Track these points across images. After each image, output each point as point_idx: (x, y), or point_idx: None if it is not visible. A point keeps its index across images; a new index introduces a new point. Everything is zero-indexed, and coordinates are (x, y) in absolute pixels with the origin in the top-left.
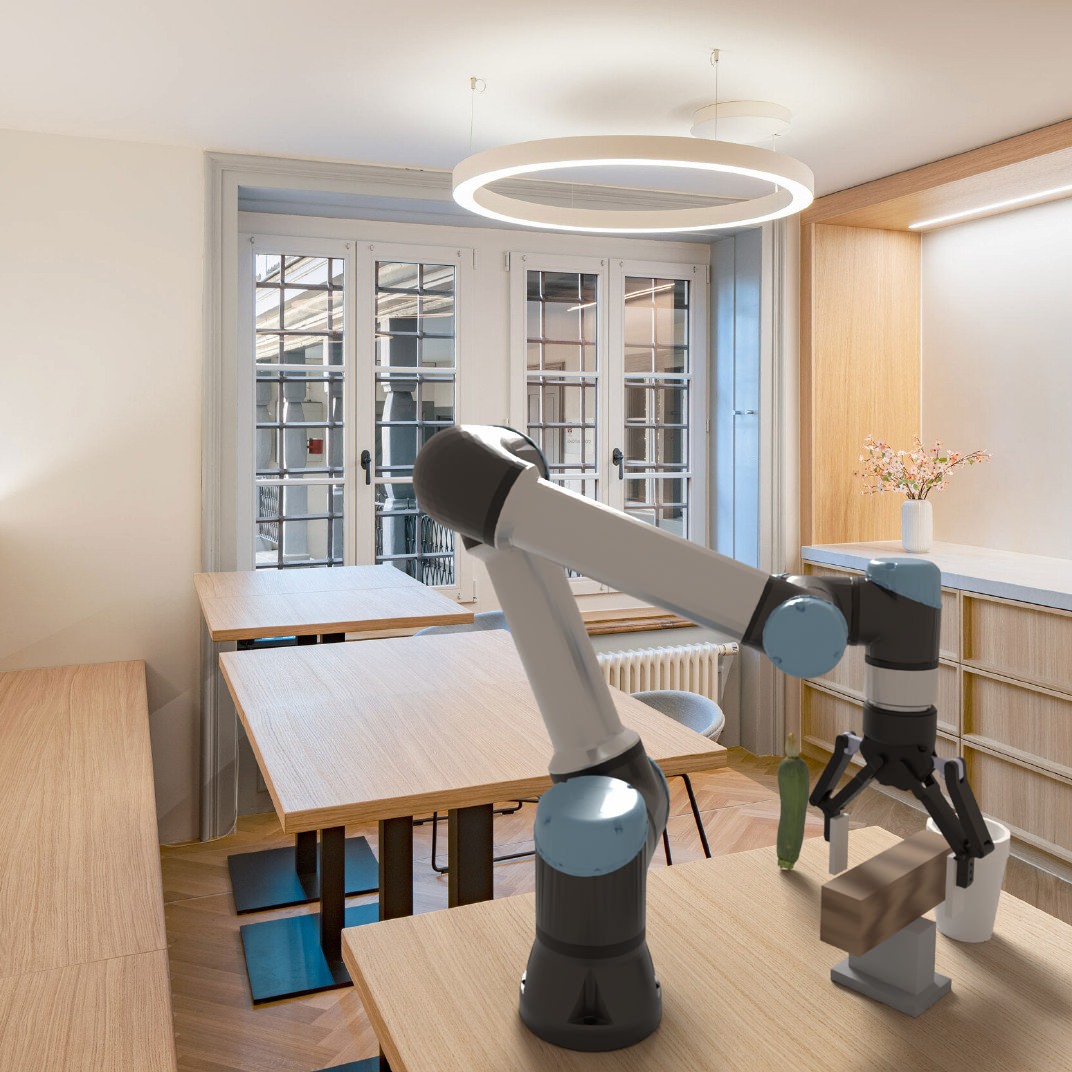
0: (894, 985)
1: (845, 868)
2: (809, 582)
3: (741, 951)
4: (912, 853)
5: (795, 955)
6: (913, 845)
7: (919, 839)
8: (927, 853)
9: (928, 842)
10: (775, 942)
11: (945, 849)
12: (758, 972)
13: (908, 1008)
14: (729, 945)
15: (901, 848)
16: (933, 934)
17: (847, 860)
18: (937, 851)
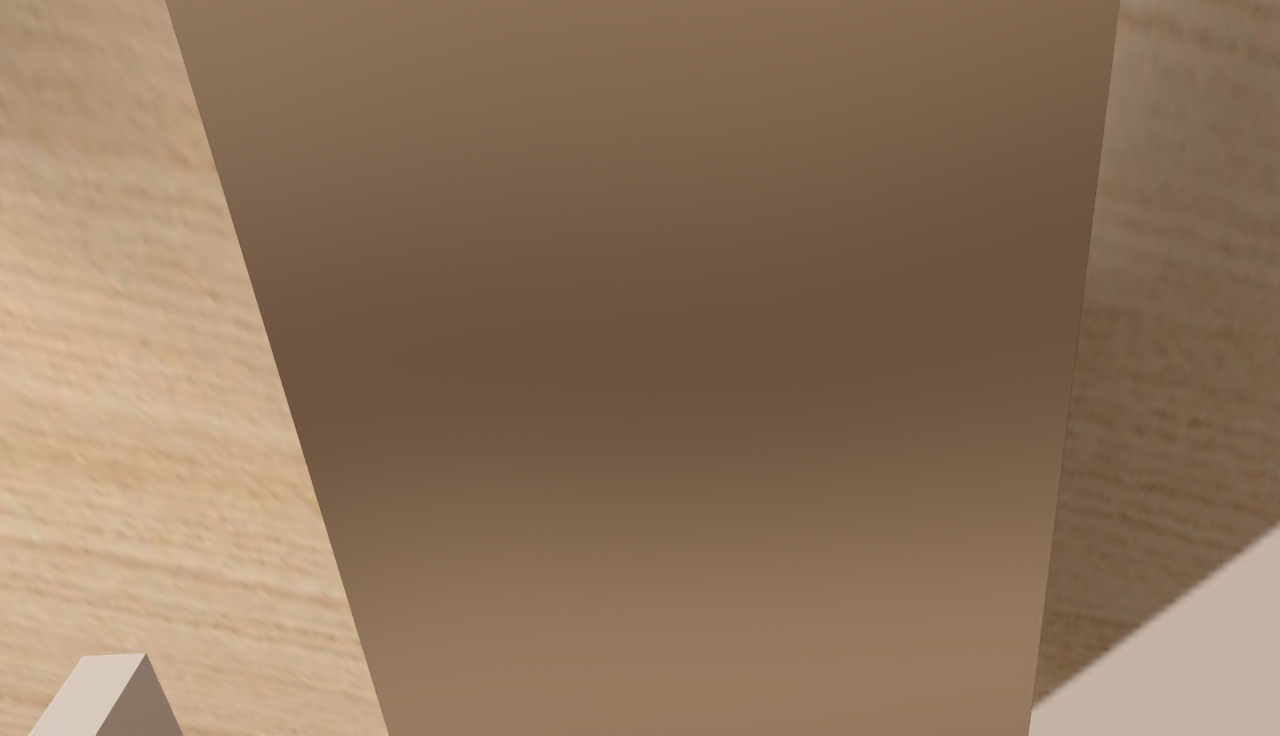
0: None
1: (152, 689)
2: None
3: (105, 584)
4: (726, 697)
5: (246, 438)
6: (545, 455)
7: (411, 104)
8: (901, 561)
9: (636, 104)
10: (94, 418)
11: (1081, 146)
12: (288, 646)
13: None
14: (35, 586)
15: (509, 675)
16: None
17: (103, 721)
18: (991, 354)
